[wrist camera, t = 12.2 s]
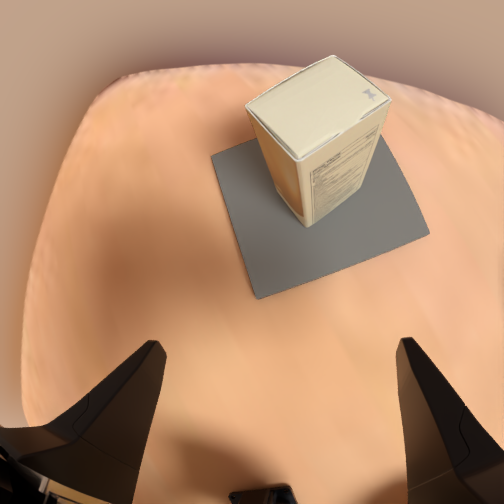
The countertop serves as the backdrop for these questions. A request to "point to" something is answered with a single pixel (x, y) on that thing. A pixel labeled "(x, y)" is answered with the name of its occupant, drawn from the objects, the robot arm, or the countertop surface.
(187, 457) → the countertop surface
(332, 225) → the charcoal mat
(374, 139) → the skincare box
